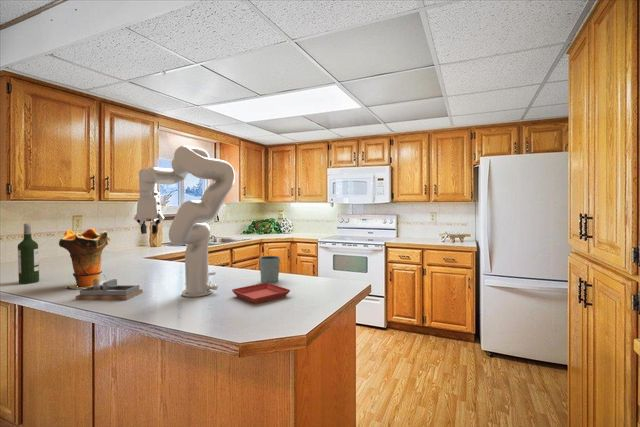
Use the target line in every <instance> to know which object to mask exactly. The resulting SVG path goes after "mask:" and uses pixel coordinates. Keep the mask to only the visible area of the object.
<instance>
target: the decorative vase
mask: <svg viewBox="0 0 640 427" xmlns="http://www.w3.org/2000/svg"><path fill="white" fill-rule="evenodd" d="M110 242H111V238H110V236H109V234H108V232H107V231H106V230H104V231H102V232H100V233H97V231H96V229H95V228H94V227H93V228H88V229H86V230H85V231H84V232H81V233H80V232H79V233H78V232H76V233H75V232H74V231H73V230H71V229H67V230H66V231H65V233H64V235H63V236H62V238H60V239H59V241H58V246H59V247H60V248H62V249H64V250H66V251H68V252H69V257H70V258H71V265H72V269H73V273H72V275H73V277H74V279H75V283H72V284H69V285H66V286H65V287H64V288H65V289H72V290H83V289H86V288H89V287H92V286H93V280H94V279H95V278H98V279H99V280H100V277H101V273H103V271H102V270H101V268H102V254H103V250H104V249H105V247H106V246H108V245H109V244H110ZM103 276H104V277H105V278H106V276H105V275H103ZM106 281H107V280H100V282H102V283H101V284H100V285H103V283H104V282H106ZM77 286H78V287H77Z"/></svg>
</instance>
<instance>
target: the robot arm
mask: <svg viewBox="0 0 640 427" xmlns="http://www.w3.org/2000/svg"><path fill="white" fill-rule="evenodd" d="M173 154H174V155H173V159H172V160H171V167H172V168H168V167H167V168H166V167H156V166H154V167H153V166H151V167H148V168H140V169H139V170H138V188H139V195H138V196H139V197H138V198H137V203H136V214H135V215H134V217H133V219H134V221H136V222H137V223H138V224H139V226H140V232H141V235H143V234H144V235H145V234H147V225H146V222H147V220H151V221H152V224H153V225H152V226H151V229H152V232H151V233H152V234H153V235H155V234H158V231H159V228H158V226H159V225H160V223H161V222H162V221H163V220H165V217H164V215H163V212H162V204H161V200H160V197H158V196H160V195H161V192H158V185H174V184H178V183H180V182H183V181H184V180H186V178H187V176H188V174H191V175H192V176H193V177H196V178H198V179H201V180H202V179H203V180H213V182H212V183H211V184H209V185H208V186H207V187H206V189H205V191H204V193H203V195H202V196H201V197H200V199H198V200H194V199H191V200H186V201H184V202H183V203H182V204H181V205H180V206H179V208H178V210H177V212H176V214H175V216H174V218H173V220H172V222H171V224H170V227H169V229H168V238H169V241H170V242H171V243H172V244H173V245H175V246H182V245H187V246H186V248H185V251H184V267H185V268H184V269H185V270H184V271H185V272H184V273H185V274H184V275H185V279H184V281H185V289H184V290H182V291H181V295H182V296H183V297H185V298H197V297H205V296H209V295H210V294H212V293H213V292H214V291H217V290H218V288H219V285H217V284H212V281H210V279H209V277H210V275H209V272H210V271H209V243H210V238H211V228H210V226H209V224H208V223H211V222H213V221H214V220H215V219H216V217H217V215H218V213H219V211H220V209H221V208H222V205H223V203H224V201H225V199H226V198H227V195H229V193H230V192H231V189H232V187H233V186H234V184H235V180H236V179H235V178H236V175H235V170H234V167H233V166H232V165H231V164H230V163H229V162H227V161H225V160H223V159H218V158H211V157H210V155H209V153H208V152H207V150H205V149H203V148H201V147H195V146H191V145H181V146H179V147H177V148H176V149H175V152H174V153H173Z"/></svg>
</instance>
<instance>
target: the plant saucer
mask: <svg viewBox="0 0 640 427" xmlns="http://www.w3.org/2000/svg"><path fill="white" fill-rule="evenodd" d="M231 291H232V293H233V294H234V295H235V296H236V297H238V298H240V299H243V300H245V301H247V302H249V303H252V304H256V305H257V304H261V303H264V302H268V301H272V300H277V299H281V298H285V297H286V296H287V295H288V294H289V293H290V292H291V289H289V288H285V287H282V286H279V285H276V284H273V283H263V282H261V283H257V284H253V285H247V286H243V287H237V288H236V287H235V288H232V289H231Z"/></svg>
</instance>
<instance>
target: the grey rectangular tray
mask: <svg viewBox="0 0 640 427" xmlns="http://www.w3.org/2000/svg"><path fill="white" fill-rule="evenodd" d="M106 281H107V282H104V283H103V285H100V290H93V286H92V287H89V288H86V289H79V295H102V296H127V295H129V294H131V293H134V292H136V291H138V290H139V289H140V285H135V284H134V285H130V284H129V285H123V284H122V285H121V284H120V285H119V284H118V279H117V278H115V279H114V278H113V279H110V280H106Z"/></svg>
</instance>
